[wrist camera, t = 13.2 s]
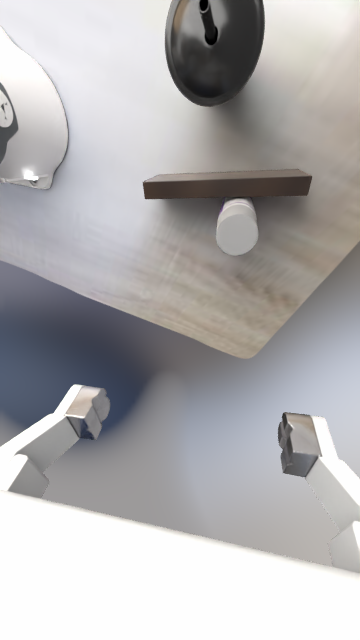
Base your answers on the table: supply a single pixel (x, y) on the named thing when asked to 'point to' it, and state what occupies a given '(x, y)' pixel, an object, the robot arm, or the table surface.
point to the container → (237, 226)
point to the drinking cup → (213, 47)
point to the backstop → (228, 184)
